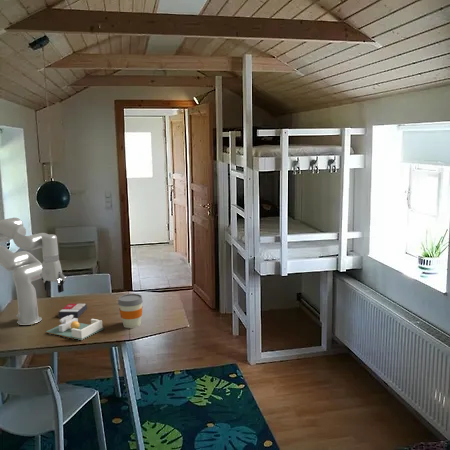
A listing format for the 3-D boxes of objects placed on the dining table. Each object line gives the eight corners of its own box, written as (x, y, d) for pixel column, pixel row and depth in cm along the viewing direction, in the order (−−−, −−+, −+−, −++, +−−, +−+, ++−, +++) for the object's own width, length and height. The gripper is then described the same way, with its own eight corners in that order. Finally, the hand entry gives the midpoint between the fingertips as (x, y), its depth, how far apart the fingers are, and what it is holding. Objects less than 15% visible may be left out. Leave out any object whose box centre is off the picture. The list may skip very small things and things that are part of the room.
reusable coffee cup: (118, 322, 258) (116, 295, 256) (141, 318, 263) (139, 292, 260) (122, 330, 247) (119, 302, 244) (146, 326, 251) (144, 299, 249)
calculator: (86, 303, 281) (77, 310, 267) (87, 310, 282) (77, 318, 267) (68, 303, 282) (58, 310, 267) (69, 310, 283) (58, 318, 268)
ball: (69, 330, 247) (68, 322, 246) (75, 327, 251) (74, 319, 250) (75, 331, 245) (74, 323, 244) (81, 328, 249) (81, 320, 248)
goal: (72, 336, 239) (71, 329, 238) (93, 325, 252) (92, 318, 251) (82, 338, 236) (81, 331, 235) (102, 327, 249) (102, 320, 248)
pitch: (46, 333, 247) (45, 331, 246) (69, 322, 261) (68, 320, 260) (81, 341, 236) (81, 339, 236) (103, 329, 250) (103, 327, 250)
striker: (57, 330, 246) (56, 320, 245) (73, 323, 256) (72, 313, 255) (62, 332, 244) (61, 321, 243) (78, 324, 254) (77, 314, 253)
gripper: (33, 258, 247) (36, 291, 250) (58, 261, 240) (61, 295, 243) (44, 255, 254) (47, 286, 257) (69, 258, 246) (72, 290, 249)
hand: (54, 290), depth 250 cm, fingers open, 9 cm apart
